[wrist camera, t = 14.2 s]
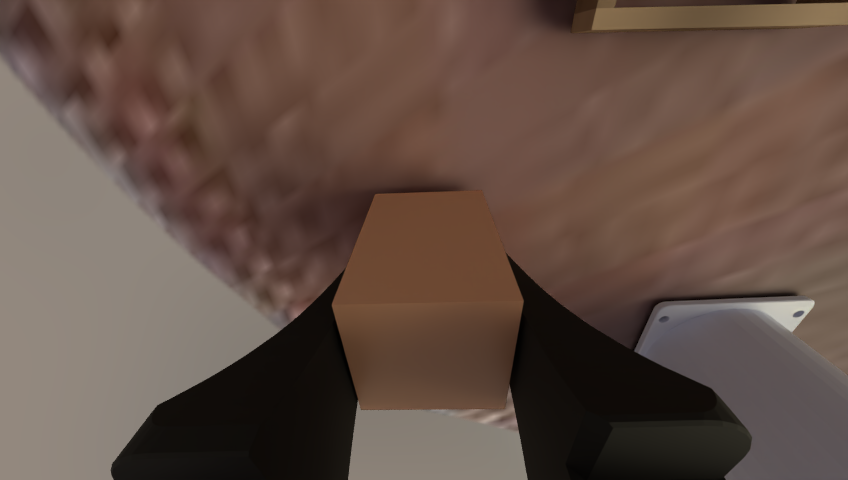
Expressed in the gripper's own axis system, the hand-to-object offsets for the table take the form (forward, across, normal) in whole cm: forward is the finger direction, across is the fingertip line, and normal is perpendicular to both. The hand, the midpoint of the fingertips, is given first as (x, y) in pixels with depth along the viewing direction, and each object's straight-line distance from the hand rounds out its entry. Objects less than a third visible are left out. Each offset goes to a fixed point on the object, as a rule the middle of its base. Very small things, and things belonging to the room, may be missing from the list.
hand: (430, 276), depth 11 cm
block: (+3, 0, 0) cm, 3 cm away
